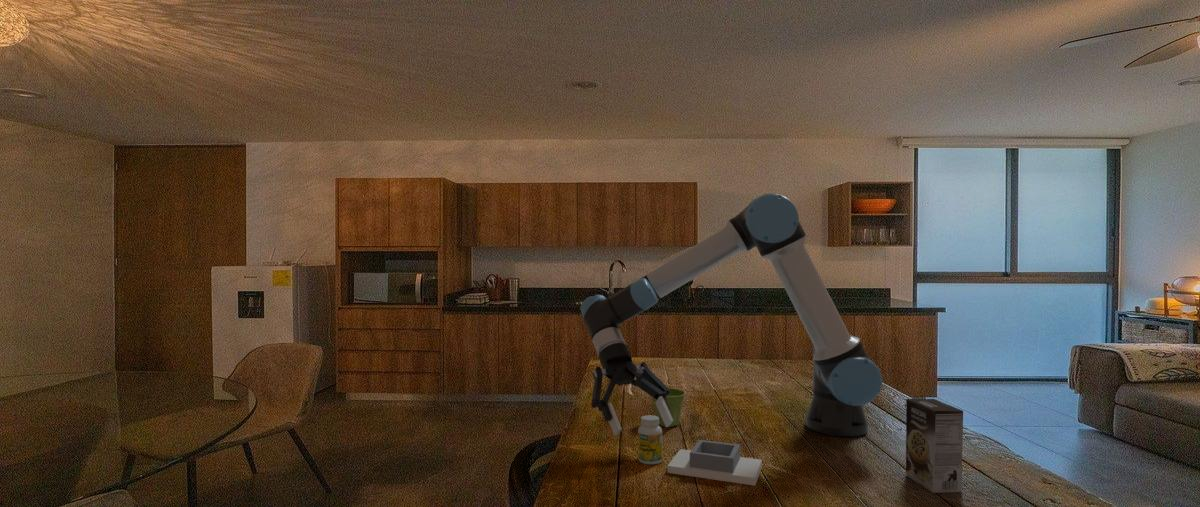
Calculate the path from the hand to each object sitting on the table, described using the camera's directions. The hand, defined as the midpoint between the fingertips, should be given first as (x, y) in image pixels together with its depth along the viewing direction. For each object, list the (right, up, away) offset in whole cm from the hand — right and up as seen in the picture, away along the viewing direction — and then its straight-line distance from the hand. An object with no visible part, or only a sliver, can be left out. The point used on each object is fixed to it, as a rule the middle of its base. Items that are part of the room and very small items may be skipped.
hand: (644, 428), depth 132 cm
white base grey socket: (+15, -7, -6) cm, 17 cm away
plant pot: (+8, -7, +27) cm, 29 cm away
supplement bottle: (+1, -7, -1) cm, 7 cm away
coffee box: (+57, -7, -13) cm, 59 cm away
